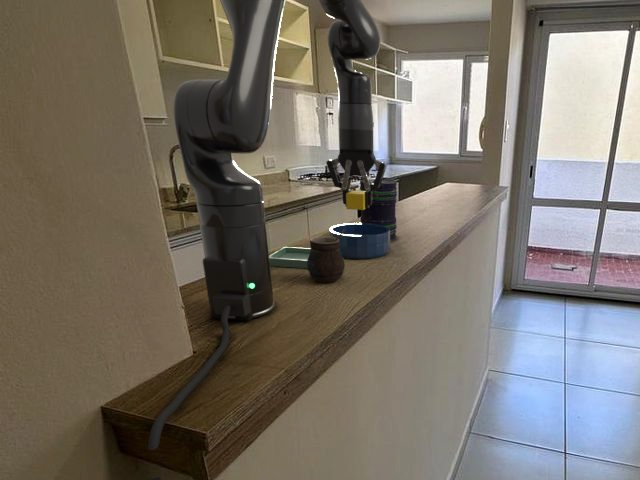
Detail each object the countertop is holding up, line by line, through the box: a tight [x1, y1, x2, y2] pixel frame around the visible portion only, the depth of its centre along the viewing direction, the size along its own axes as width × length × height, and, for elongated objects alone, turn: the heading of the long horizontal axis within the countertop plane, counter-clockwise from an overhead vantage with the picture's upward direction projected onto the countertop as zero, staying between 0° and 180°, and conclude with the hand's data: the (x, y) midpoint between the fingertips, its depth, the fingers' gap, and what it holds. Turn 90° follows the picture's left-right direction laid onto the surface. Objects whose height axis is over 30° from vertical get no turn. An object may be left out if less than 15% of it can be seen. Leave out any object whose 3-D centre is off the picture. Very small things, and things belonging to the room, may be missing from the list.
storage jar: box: [359, 169, 398, 242], centre depth 119 cm, size 10×10×18 cm
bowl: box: [329, 222, 391, 260], centre depth 107 cm, size 14×14×6 cm
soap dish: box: [269, 246, 311, 269], centre depth 99 cm, size 10×11×2 cm
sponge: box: [345, 190, 366, 211], centre depth 103 cm, size 5×4×4 cm
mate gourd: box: [307, 229, 346, 284], centre depth 86 cm, size 7×8×10 cm
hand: (357, 206), depth 104 cm, fingers closed on sponge, 4 cm apart
